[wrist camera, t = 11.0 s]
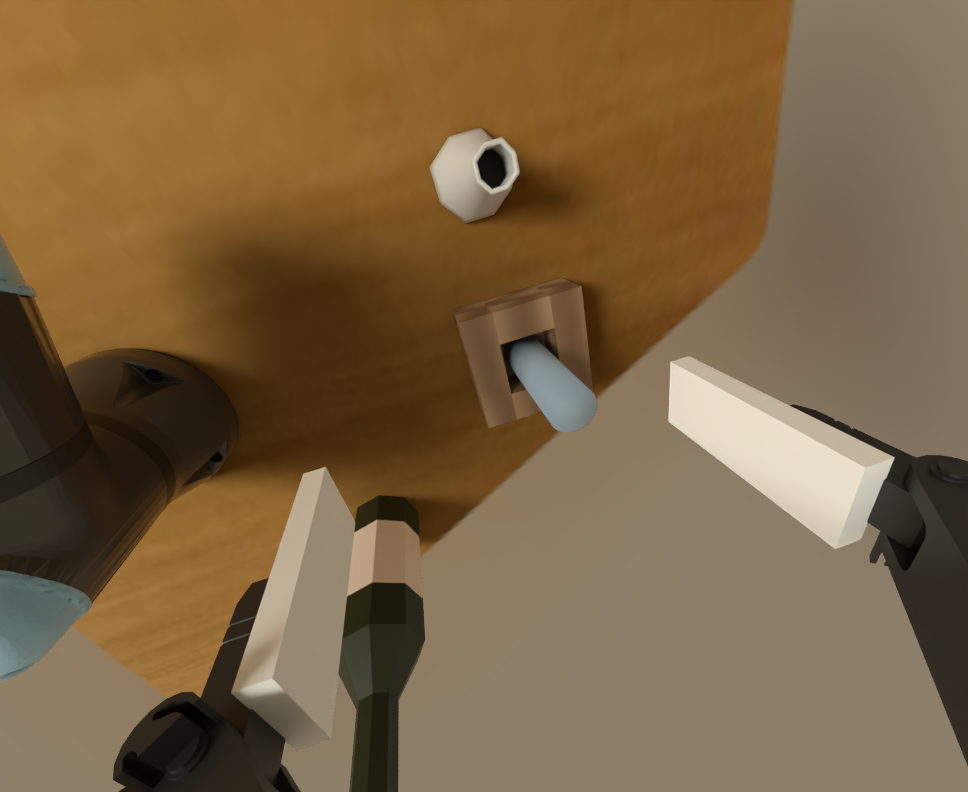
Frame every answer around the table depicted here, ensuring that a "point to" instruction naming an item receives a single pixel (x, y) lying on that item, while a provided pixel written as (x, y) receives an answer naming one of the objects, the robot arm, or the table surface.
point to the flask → (474, 174)
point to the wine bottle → (381, 634)
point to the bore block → (512, 316)
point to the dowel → (551, 384)
